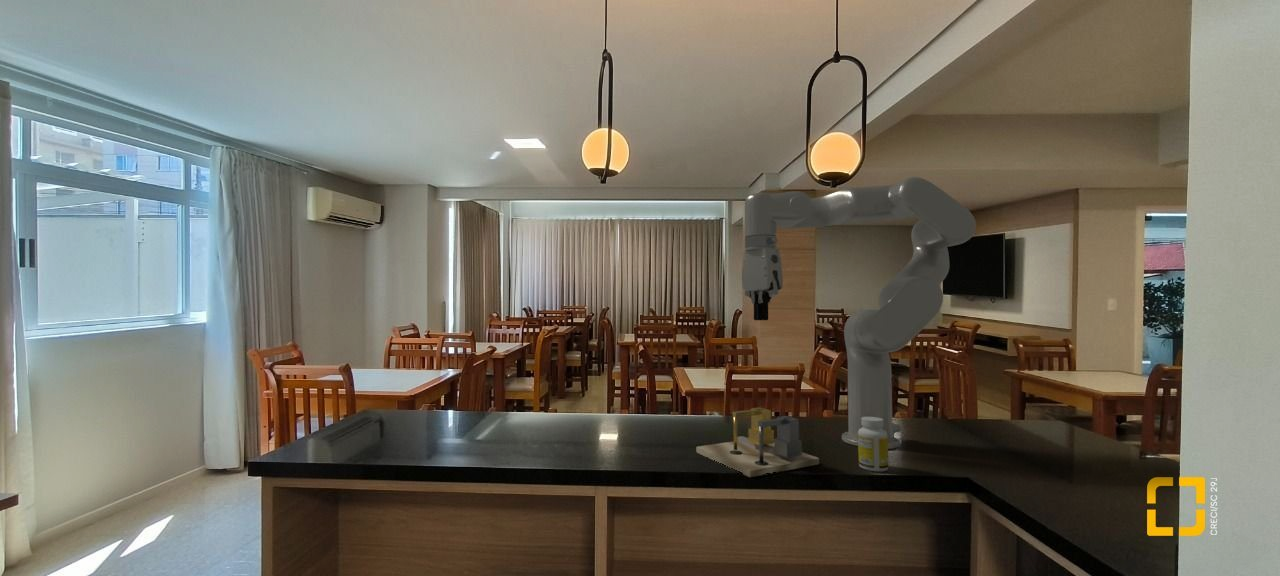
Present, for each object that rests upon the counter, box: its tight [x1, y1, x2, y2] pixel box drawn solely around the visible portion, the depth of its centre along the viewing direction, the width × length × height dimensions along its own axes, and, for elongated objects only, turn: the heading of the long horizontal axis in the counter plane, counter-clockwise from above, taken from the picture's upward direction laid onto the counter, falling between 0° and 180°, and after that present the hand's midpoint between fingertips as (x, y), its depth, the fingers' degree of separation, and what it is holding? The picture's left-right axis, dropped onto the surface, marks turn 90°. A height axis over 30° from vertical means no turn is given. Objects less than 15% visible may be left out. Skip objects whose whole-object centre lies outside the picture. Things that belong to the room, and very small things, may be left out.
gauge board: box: [695, 435, 820, 478], centre depth 104 cm, size 18×18×2 cm
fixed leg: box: [758, 415, 803, 463], centre depth 98 cm, size 9×4×8 cm, turn 117°
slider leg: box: [732, 407, 775, 450], centre depth 105 cm, size 9×4×8 cm, turn 117°
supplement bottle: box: [857, 417, 889, 473], centre depth 98 cm, size 5×5×10 cm
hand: (760, 320), depth 118 cm, fingers closed
